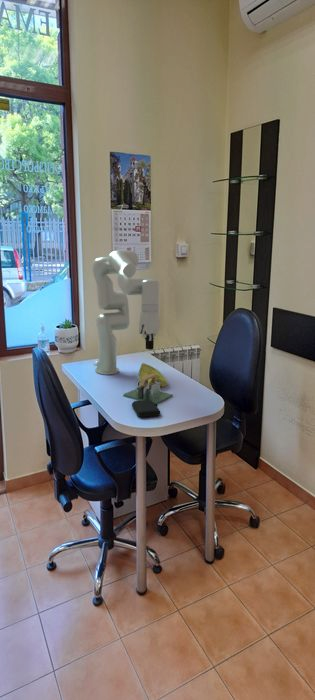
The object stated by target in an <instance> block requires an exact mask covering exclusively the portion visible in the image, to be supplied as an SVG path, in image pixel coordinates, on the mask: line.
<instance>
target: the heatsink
mask: <svg viewBox="0 0 315 700" xmlns="http://www.w3.org/2000/svg"><path fill="white" fill-rule="evenodd" d="M122 396H123V397H125V398H129V399H133V400H135V401H142V400H151V401H152V402H154V403H156V404H157V405H159V404H160V403H163V402H164V401H166V400H168V399H171V398H172V397H173V396H174V394H173V393H172V394H171V393H168V392H164V391H161V386H160V382H159V380H156V382H154V383H151V384H148V380H146V381H145V388H144V387H141V380H140V381H139V380H138V381H136V388H134V389H132V390H131V391H128V392H126V393H123V394H122Z"/></svg>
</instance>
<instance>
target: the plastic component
mask: <svg viewBox="0 0 315 700" xmlns="http://www.w3.org/2000/svg"><path fill="white" fill-rule="evenodd" d="M152 373H153V374H157V376H156V380H159V382H160V387H163V388H165V387H166V385H167V384H168V381H169V380H167V379H166V378H165V377H164V375H163V374H162V373H161V371H159V369H157V368H155V367H154V366H152V365H150V364H147V363H145V362H143V363H142V364H140V368H139V372H138V381H140V378H142V377H145V376H147V375H150V374H152ZM151 383H152V378H151V379H148V384H151Z"/></svg>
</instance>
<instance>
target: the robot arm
mask: <svg viewBox="0 0 315 700" xmlns="http://www.w3.org/2000/svg"><path fill="white" fill-rule="evenodd" d="M138 264H139V256H138V254H137V253H136V252H135V251H134V250H114V251H112V252H110V253H109V255H108V256H103V257H102V256H100V257H97V258H95V260H94V261H93V263H92V274H93V278H94V281H95V283H96V296H97V305H98V308H99V309H100V310H101V311H114V312H103V313H100V314H98V316H97V317H96V327H97V333H98V334H97V335H98V336H97V337H98V339H97V340H98V343H97V345H98V361H97V360H96V361H94V363H93V366H96V368H95V372H96V373H97V374H100V375H106V376H108V375H115V374H119V372H120V368H119V367H117V346H118V344H117V342H118V341H117V337H116V336H115V334H114V333H113V332H114V331H124V330H127V329H129V327H130V307H129V298H128V296H141V311H140V314H139V319H138V321H139V322H138V333H139V334H140V335H141V338H142V339H143V338H144V341H145V349H146V350H151V351H152V350H154V343H155V339H156V338H155V337H156V336H157V335H158V333H159V331H160V313H159V312H160V310H159V308H160V307H159V306H160V305H159V303H160V301H159V300H160V282H159V280H157V279H153V278H150V277H134V276H135V274H136V272H137V266H138ZM109 275H117V277H116V278H117V280H116V282H117V285H118V287H119V289H120V290H119V291H118V290H117V291H114V283H113V280H112V278H111V277H110V276H109ZM115 311H117V312H115Z"/></svg>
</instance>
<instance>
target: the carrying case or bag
mask: <svg viewBox="0 0 315 700" xmlns="http://www.w3.org/2000/svg"><path fill="white" fill-rule="evenodd" d="M158 406H159V404H156V403H154V402H152V401H151V400H142V401H140V400H134V401H132V403H131V407H132V409H133V411H134V412H135V414H136V415H137V416H138V418H141V419H146V418H157V417H159V416H160V415H161V410H160V409H159V407H158Z"/></svg>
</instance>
